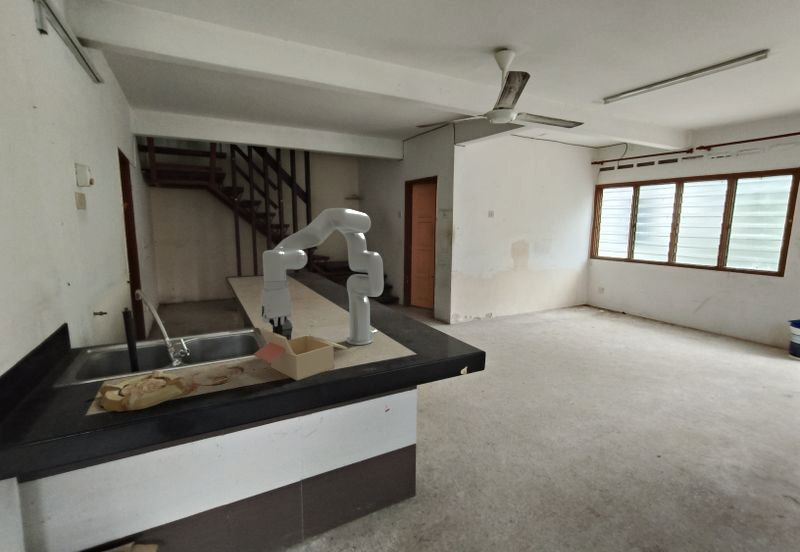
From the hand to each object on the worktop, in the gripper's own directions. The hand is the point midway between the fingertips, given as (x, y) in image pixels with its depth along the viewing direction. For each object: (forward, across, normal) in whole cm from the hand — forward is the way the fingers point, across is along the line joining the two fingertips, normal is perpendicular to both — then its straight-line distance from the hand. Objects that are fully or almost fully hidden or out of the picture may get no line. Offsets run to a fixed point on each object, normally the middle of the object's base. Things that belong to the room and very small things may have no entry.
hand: (278, 335), depth 134 cm
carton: (+15, -9, 0) cm, 18 cm away
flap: (+2, 0, 0) cm, 2 cm away
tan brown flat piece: (+15, +38, -18) cm, 44 cm away
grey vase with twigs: (+15, -12, -18) cm, 27 cm away
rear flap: (+7, -21, 0) cm, 23 cm away
